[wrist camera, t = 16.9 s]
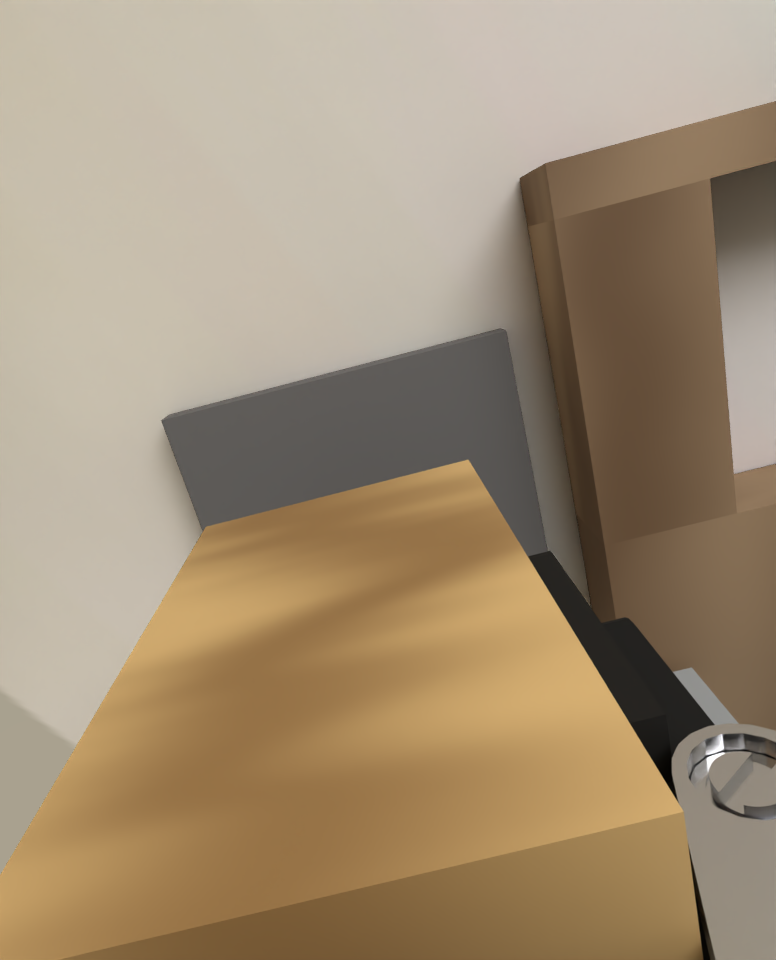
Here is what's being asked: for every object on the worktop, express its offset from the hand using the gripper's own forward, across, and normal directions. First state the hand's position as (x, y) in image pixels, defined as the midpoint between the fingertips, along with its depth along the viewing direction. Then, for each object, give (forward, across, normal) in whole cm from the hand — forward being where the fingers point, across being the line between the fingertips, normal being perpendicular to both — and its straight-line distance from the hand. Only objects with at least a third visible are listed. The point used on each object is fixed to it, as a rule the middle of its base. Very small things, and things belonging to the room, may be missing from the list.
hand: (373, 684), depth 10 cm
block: (+2, 0, 0) cm, 2 cm away
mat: (+6, 0, 0) cm, 6 cm away
